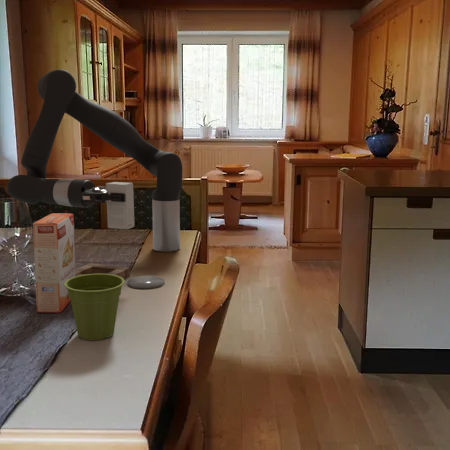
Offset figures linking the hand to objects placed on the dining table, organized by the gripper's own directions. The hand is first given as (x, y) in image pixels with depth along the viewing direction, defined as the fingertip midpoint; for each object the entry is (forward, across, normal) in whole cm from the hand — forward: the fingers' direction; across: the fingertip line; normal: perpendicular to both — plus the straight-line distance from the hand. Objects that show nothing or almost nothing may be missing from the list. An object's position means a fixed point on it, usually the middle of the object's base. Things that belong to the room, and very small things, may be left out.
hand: (129, 196), depth 138 cm
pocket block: (-10, -1, +24) cm, 26 cm away
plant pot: (+11, -34, +24) cm, 43 cm away
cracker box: (-8, -21, +24) cm, 33 cm away
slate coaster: (+4, +1, +24) cm, 24 cm away
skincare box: (-3, 0, +9) cm, 9 cm away
